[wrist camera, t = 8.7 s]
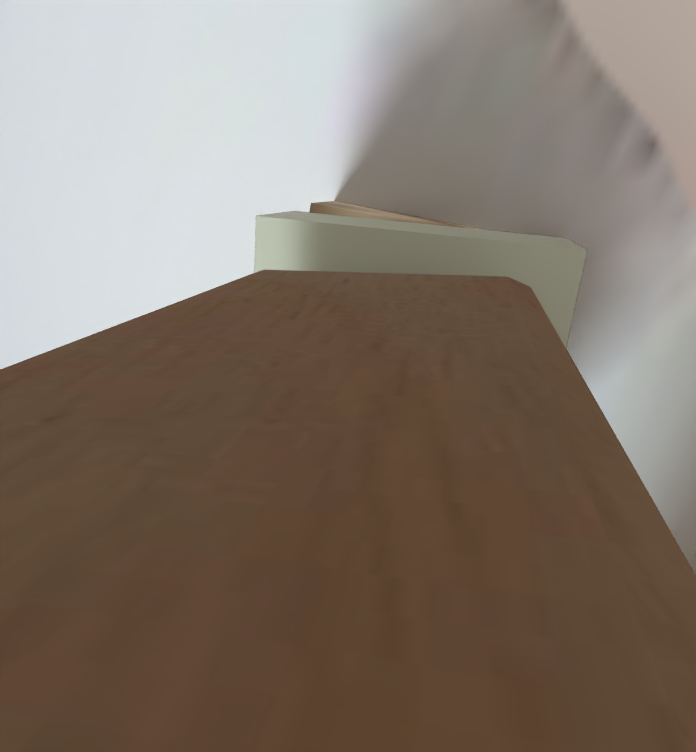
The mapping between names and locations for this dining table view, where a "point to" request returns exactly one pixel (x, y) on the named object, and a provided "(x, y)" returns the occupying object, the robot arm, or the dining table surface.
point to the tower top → (423, 254)
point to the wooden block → (332, 533)
